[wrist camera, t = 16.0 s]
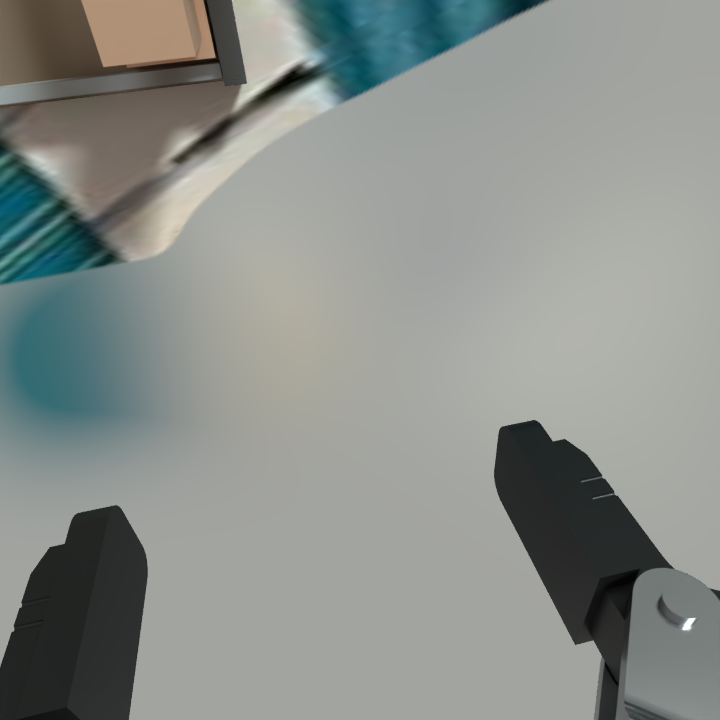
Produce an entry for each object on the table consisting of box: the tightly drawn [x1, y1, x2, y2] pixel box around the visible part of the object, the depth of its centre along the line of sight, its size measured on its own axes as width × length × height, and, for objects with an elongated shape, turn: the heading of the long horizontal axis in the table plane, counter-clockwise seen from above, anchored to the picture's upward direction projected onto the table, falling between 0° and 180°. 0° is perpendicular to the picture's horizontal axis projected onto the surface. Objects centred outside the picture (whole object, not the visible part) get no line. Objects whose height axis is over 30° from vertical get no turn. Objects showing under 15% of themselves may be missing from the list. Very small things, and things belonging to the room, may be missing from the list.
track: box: [0, 0, 247, 107], centre depth 29 cm, size 20×9×4 cm, turn 96°
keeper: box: [81, 0, 216, 68], centre depth 26 cm, size 5×6×10 cm
